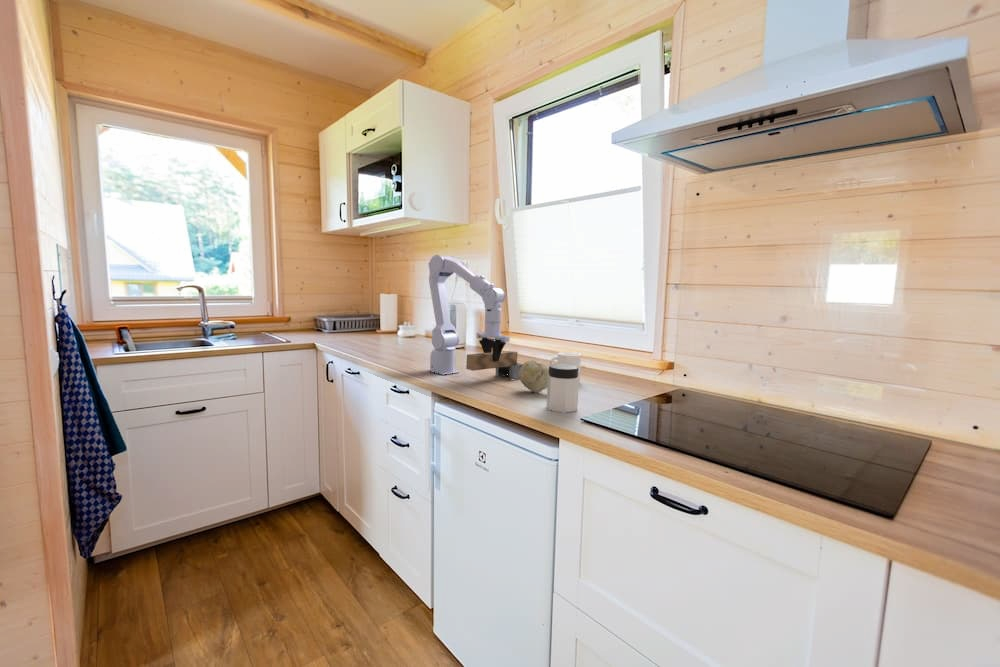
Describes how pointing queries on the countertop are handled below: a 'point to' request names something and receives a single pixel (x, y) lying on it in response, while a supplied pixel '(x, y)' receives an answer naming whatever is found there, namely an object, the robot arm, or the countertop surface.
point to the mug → (568, 359)
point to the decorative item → (534, 375)
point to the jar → (562, 388)
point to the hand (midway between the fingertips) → (491, 360)
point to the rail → (490, 360)
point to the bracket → (509, 371)
